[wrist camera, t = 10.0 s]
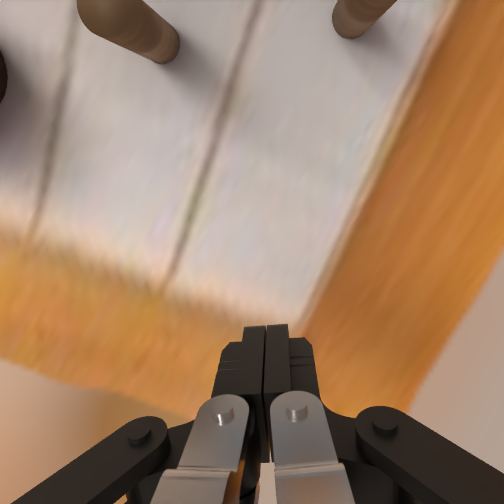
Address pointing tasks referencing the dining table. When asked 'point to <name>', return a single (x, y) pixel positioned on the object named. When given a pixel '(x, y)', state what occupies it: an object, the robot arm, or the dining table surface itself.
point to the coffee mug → (2, 77)
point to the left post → (131, 27)
